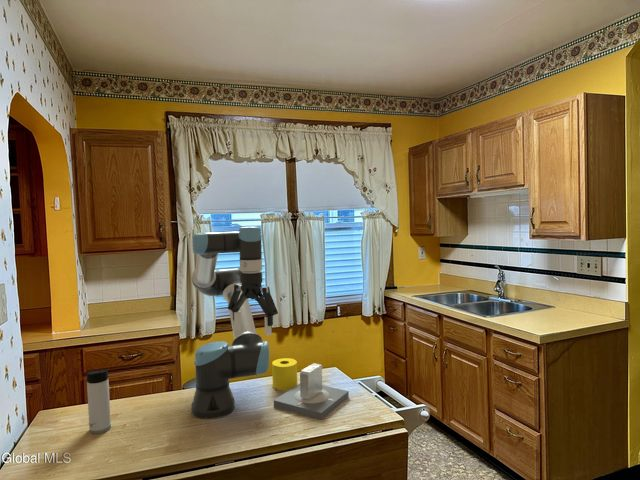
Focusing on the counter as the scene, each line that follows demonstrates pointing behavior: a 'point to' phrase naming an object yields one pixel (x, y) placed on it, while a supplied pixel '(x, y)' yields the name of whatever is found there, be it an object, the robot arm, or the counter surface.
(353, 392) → the counter surface
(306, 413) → the dial plate
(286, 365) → the yellow toilet paper roll
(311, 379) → the dial handle
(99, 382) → the travel mug
